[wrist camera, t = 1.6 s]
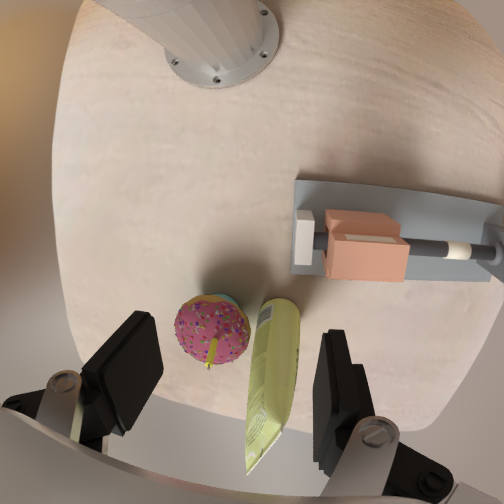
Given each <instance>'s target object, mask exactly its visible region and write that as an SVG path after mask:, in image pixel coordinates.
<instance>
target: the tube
mask: <svg viewBox="0 0 504 504" xmlns="http://www.w3.org/2000/svg"><path fill="white" fill-rule="evenodd" d="M299 344H300V312H299V310H298V308H297V306H296V305H295V304H294V303H293V302H291V301H289V300H287V299H283V298H275V299H272V300H269V301H267V302H266V303H265V304H264V305H263V306H262V307H261V309H260V311H259V315H258V320H257V327H256V333H255V339H254V345H253V353H252V361H251V369H250V379H249V390H248V403H247V418H246V435H245V458H246V469H247V472H246V475H248V474H249V473H250V472H251V471H252V469H253V468H254V467H255V466H256V465H257V463H258V462H259V461H260V460H261V458H262V457H263V456H264V455H265V454H266V453H267V451H268V450H269V449H270V448H271V446H272V445H273V444H274V443H275V442H276V441H277V439H278V438H279V436H280V435H281V434H282V432H283V427H284V426H285V424H286V422H287V420H288V418H289V415H290V411H291V407H292V402H293V396H294V391H295V385H296V379H297V370H298V359H299Z"/></svg>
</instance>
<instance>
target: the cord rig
mask: <svg viewBox="0 0 504 504" xmlns="http://www.w3.org/2000/svg"><path fill="white" fill-rule="evenodd" d="M325 209H335V210H348V211H361V212H373V213H384V214H386V215H387V216H389V217H390V218H392V219H393V220H395V221H396V222H398V223H399V224H400V225H401V230H400V237H401V238H402V239H403V240H404V241H405V242H407V243H408V244H409V245H410V250H409V255H408V261H407V266H406V271H405V276H404V280H430V281H467V282H490V279H491V275H493V276H495V277H496V278H497V279H499V280H500V281H501V282H503V283H504V227H502V222H503V216H504V206H502V205H498V204H494V203H489V202H484V201H479V200H473V199H468V198H462V197H456V196H450V195H444V194H438V193H431V192H424V191H417V190H410V189H402V188H394V187H385V186H376V185H366V184H355V183H344V182H331V181H317V180H300V179H295V195H294V219H293V238H292V256H291V272H290V274H297V275H315V276H326V275H325V271H324V267H323V263H322V259H321V257H322V250H327V248H328V237H329V232H324V221H325Z"/></svg>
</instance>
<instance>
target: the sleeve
mask: <svg viewBox="0 0 504 504" xmlns="http://www.w3.org/2000/svg"><path fill="white" fill-rule="evenodd" d="M400 230H401V225H400V224H399V223H398V222H396V221H395V220H393V219H392V218H390V217H389V216H387V215H386V214H384V213H373V212H361V211H348V210H335V209H325V221H324V232H329V237H328V248H327V250H322V257H321V259H322V263H323V267H324V271H325V275H326V278H331V279H341V280H362V281H387V282H403V281H404V276H405V271H406V266H407V261H408V255H409V250H410V245H409V244H408V243H407V242H405V241H404V240H403V239H402V238H401V237H400Z"/></svg>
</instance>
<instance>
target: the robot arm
mask: <svg viewBox="0 0 504 504" xmlns="http://www.w3.org/2000/svg"><path fill="white" fill-rule="evenodd" d="M92 1H94V2H96V3H98V4H99V5H101V6H103V7H105V8H106V9H108V10H109V11H111V12H113V13H114V14H116V15H117V16H119V17H121V18H122V19H124V20H125V21H127V22H128V23H130V24H131V25H133V26H134V27H136V28H137V29H139V30H140V31H142V32H143V33H145V34H146V35H147V36H149V37H150V38H152V39H153V40H154V41H156V42H157V43H159V44H160V45H161V46H163V47H164V48H165V56H166V60H167V62H168V64H169V66H170V68H171V69H172V70H173V71H174V73H175V74H176V75H177V76H179V77H180V78H181V79H183V80H184V81H186V82H188V83H190V84H192V85H195V86H198V87H202V88H209V89H220V88H227V87H232V86H235V85H238V84H241V83H244V82H246V81H248V80H250V79H251V78H253V77H255V76H256V75H257V74H259V73H260V72H261V71H263V70H264V69H265V67H266V66H267V65H268V64H269V63H270V62H271V60H272V58H273V57H274V55H275V54H276V51H277V48H278V45H279V37H280V35H279V27H278V23H277V20H276V18H275V16H274V14H273V12H272V11H271V10H270V9H269V8H268V7H267V6H266V5H265V4H264V3H262V2H261V1H259V0H92ZM263 15H266V16H263ZM264 55H266V56H267V57H266V58H263V56H264ZM178 62H179V63H178ZM177 63H178V64H177ZM176 64H177V65H176ZM218 80H221V82H220V83H217V81H218ZM163 370H164V367H163V362H162V357H161V352H160V347H159V342H158V336H157V331H156V325H155V320H154V317H153V316H151V315H150V313H149V312H144V311H134V312H133V313H132V314H131V316H130V317H129V318H128V319H127V320H126V321H125V322H124V323H123V324H122V325H121V326H120V327H119V328H118V329H117V330H116V331H115V332H114V333H113V335H112V336H111V337H110V338H109V339H108V340H107V341H106V342H105V343H104V344H103V345H102V346H101V347H100V349H99V350H98V351H97V352H96V353H95V354H94V355H93V356H92V357H91V358H90V360H89V361H88V362H87V363H86V364H85V365H84V366H83V368H82V372H81V373H80V374H78V373H77V372H75V371H71V370H64V371H60V372H58V373H56V374H54V375H53V376H52V377H51V378H50V379H49V381H48V383H47V386H46V389H43V390H39V391H34V392H29V393H24V394H19V395H14V396H11V397H9V398H8V399H7V400H6V401H5V402H4V403H3V405H1V404H0V504H502V503H501V501H499V500H498V499H496V498H494V497H492V496H490V495H488V494H485V493H483V492H481V491H479V490H477V489H475V488H473V487H471V486H469V485H467V484H465V483H463V482H459V483H456V482H454V479H453V476H452V474H451V472H450V471H449V470H448V469H447V468H446V467H444V466H442V465H441V464H439V463H437V462H435V461H433V460H431V459H429V458H427V457H425V456H424V455H422V454H420V453H418V452H416V451H415V450H413V449H411V448H410V447H408V446H406V445H404V444H402V443H401V442H399V436H400V433H399V430H398V427H397V426H396V425H395V423H394V422H392V421H391V420H389V419H387V418H385V417H381V416H375V412H374V407H373V403H372V398H371V394H370V390H369V386H368V382H367V378H366V374H365V370H364V367H363V365H362V364H352V362H351V358H350V353H349V349H348V345H347V340H346V336H345V332H344V330H335V329H329V331H328V333H323V335H322V341H321V347H320V352H319V358H318V363H317V369H316V374H315V379H314V384H313V461H314V462H319V470H324V474H326V475H327V476H328V477H330V479H329V481H328V483H327V485H326V486H325V488H324V490H323V492H322V494H321V495H320V497H304V496H282V495H267V494H258V493H248V492H240V491H233V490H227V489H221V488H216V487H211V486H206V485H201V484H196V483H191V482H187V481H183V480H179V479H175V478H172V477H168V476H164V475H161V474H158V473H154V472H151V471H148V470H145V469H142V468H138V467H136V466H133V465H130V464H127V463H125V462H122V461H119V460H117V459H114V458H111V457H109V456H107V452H108V435H110V433H114V434H117V435H119V436H122V437H123V435H124V434H125V432H126V431H129V430H131V428H132V426H133V425H134V423H135V421H136V419H137V418H138V416H139V414H140V412H141V411H142V409H143V407H144V405H145V404H146V402H147V400H148V399H149V397H150V395H151V393H152V392H153V390H154V388H155V386H156V385H157V383H158V381H159V380H160V378H161V376H162V374H163Z"/></svg>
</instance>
